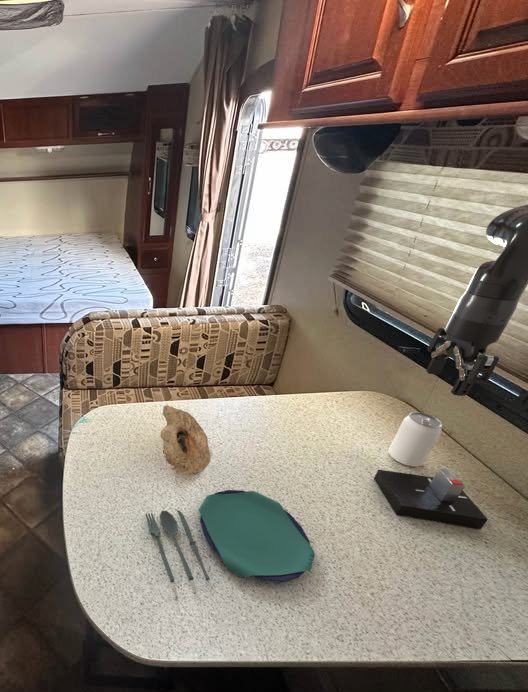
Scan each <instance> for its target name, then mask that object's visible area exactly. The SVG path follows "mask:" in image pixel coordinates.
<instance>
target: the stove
mask: <svg viewBox="0 0 528 692" xmlns="http://www.w3.org/2000/svg"><path fill="white" fill-rule="evenodd" d="M433 478H434V476H426V475H420V474H413V473H405V472H399V471H392V470H386V469H385V470H384V469H380V468H379V469H377V471H376V473H375V475H374V477H373V481H374V482H375V483H376V486H378V488H379V490H380V491H381V493H382V495H383V496H384V498H385V499H386V501H387V502H388V504H389V506H390V507H391V509H392V510H393V512H394V513H395V515H396V516H400V517H404V518H406V517H407V518H412V519H417V520H423V521H428V520H429V521H430V522H434V521H436V522H435V523H440V522H441V524H446V525H453V526H459V527H465V528H470V529H476V530H482V529H483V527H484V526H485V524H486V523H488V521H489V519H488V517H487V516H486V515H485V514H484V513H483V512H482V511H481V509H480V508H479V507H478V506H477V505H476V504H475V502H474V501H473V500H472V499H471V497H469V495H467V493H466V492H465V491H464V489H463V490H462V492H461V493H460V495H459V496H458V497H457V499H456V500H455V502H454V503H447V502H441V500H440V499H439V498H438V496H437V495H436V494H435V492H434V491H433V490H432V488H431V487H430V486H429V484H430V483H431V481H432V479H433ZM429 521H428V522H429Z"/></svg>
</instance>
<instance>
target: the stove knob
mask: <svg viewBox="0 0 528 692" xmlns="http://www.w3.org/2000/svg"><path fill="white" fill-rule="evenodd" d="M433 477H434V478H433V479H432V481H431V483H430V484H429V486H430V487H431V488H432V490H433V491H434V492H435V494H436V495H437V496H438V498H439V499H440V500H441V502H447V503H454V502H455V500H456V499H457V497H458V496H459V495H460V493H461V492H462V490H463V491H464V489H465V488H466V486H465V484H464V483H463V481H461V480H460V479H459V478H458V477H457V476H456V474H455V473H454V472H453V471H452V470H451V469H446V468H438V470H437V471H436V473H435V474H434V476H433Z"/></svg>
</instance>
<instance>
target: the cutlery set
mask: <svg viewBox="0 0 528 692" xmlns="http://www.w3.org/2000/svg"><path fill="white" fill-rule="evenodd" d="M176 511H177V514H178V516H179V519H180V521H181V523H182V525H183V528H184V530H185V533H186V535H187V537H188V539H189V546H191V548H192V552H193V553H194V554H195V556H196V557H197V561H198V562H199V565H200V566H201V569H202V571H203V574H204V576H205V581H210V580H211V577H210V576H209V575H208V572H207V570H206V568H205V566H204V562H203V560H202V558H201V555H200V553H199V547H198V546H197V545H196V544H197V542H196V541H194V538H193V534H192V531H191V529H190V526H189V523H188V522H187V520H186V517H185V515H184V513H183V512H182V511H180V510H179V509H178V510H176ZM197 511H198V512H199V523H200V526H201V530H202V533H203V536H204V538H205V539H206V541H207V542H208V544H209V545H210V547H211V548H212V550H213V551H214V552H215V553H216V554H217V555H218V556H219V557H220V558H221V561H222V562H223V565H224V567H225V568H226V569H227V570H228V571H230V572H231V573H232V574H235V575H236V576H238V577H240V578H247V577H253V578H255V579H258V580H262V581H264V582H265V581H266V582H278V583H279V582H280V583H284V582H288V581H292V580H295V579H298V578H300V577H301V576H302V575H303V574H304V573H305V572H311V570H312V566H313V564H314V560H315V556H316V554H315V550H314V548H312V545H311V542H310V539H309V537H308V536H307V533H306V532H305V530H304V529H303V527H302V525H301V524H300V523H299V522H298V521H297V520H296V519H295V517H293V515H292V514H291V513H290V512H289V511H287V510H286V509H285V508H284V507H283V506H282V504H281V503H280V502H278V501H276V500H274V499H272V498H270V497H269V496H266V495H264V494H261V493H259V492H257V491H255V490H248V491H246V490H240V489H238V490H237V489H226V490H221V491H218V492H215V493H213V494H208V495H206V497H205V498H204V500H203V502H202V503H201V505H200V506H199V507H198V510H197ZM145 518H146V522H147V526H148V529H149V533H150V535H151V536H152V537H154V540H155V541H156V543H157V546H158V550H159V553H160V556H161V558H162V562H163V564H164V568H165V570H166V573H167V576H168V578H169V581H170V583H175V578H174V574H173V572H172V569H171V566H170V563H169V561H168V559H167V556H166V553H165V550H164V547H163V544H162V541H161V529H160V527H159V525H158V523H157V521H156V519H155V517H154V514H153V512H151V513H150V512H148V513H147V512H146V513H145ZM159 520H160V525H161V526H162V528H163V531H165V532H166V533H167V534H169V535H170V536H171V538H172V539H173V541H174V544H175V547H176V549H177V552H178V554H179V557H180V559H181V562H182V565H183V568H184V571H185V573H186V577H187V579H188V581H193V580H194V576H193V573H192V571H191V569H190V566H189V564H188V562H187V560H186V557H185V555H184V552H183V551H182V549H181V546H180V544H179V542H178V540H177V538H176V535H177V534H178V531H179V530H178V529H179V527H178V523H177V521H176V520H177V519H175V517H174V515H173V514H172V513H170V512H169V511H168V510H161V512H160V514H159Z"/></svg>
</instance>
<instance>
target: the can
mask: <svg viewBox="0 0 528 692" xmlns="http://www.w3.org/2000/svg"><path fill="white" fill-rule="evenodd" d="M442 427H443V423H442V421H441V420H439V419H438V418H436V417H435V416H433V415H430V414H428V413H425V412H419V411H412V412H410V413H409V414H408V415H407V416H405V417H404V419H403V420H402V423H401V424H400V426H399V428H398V430H397V432H396V433H395V435H394V438H393V439H392V442H391V444H390V446H389V448H388V455H389V456H390V458H391V459H393V460H394V461H396V462H397V463H399V464H401V465H404V466H406V467H412V468H419V467H421V466H422V465H423V464H424V463H425V462H426V460H427V458H428V457H429V454H430V453H431V451H432V449H433V448H434V446H435V444H436V443H437V441H438V439H439V437H440V436H441V434H442V429H443V428H442Z"/></svg>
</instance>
